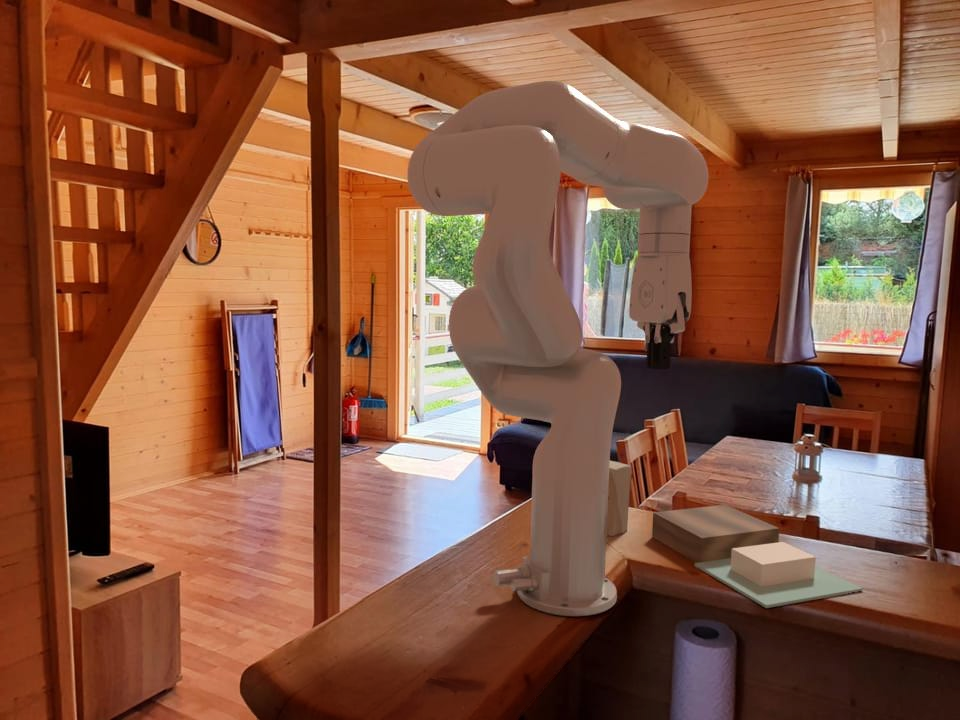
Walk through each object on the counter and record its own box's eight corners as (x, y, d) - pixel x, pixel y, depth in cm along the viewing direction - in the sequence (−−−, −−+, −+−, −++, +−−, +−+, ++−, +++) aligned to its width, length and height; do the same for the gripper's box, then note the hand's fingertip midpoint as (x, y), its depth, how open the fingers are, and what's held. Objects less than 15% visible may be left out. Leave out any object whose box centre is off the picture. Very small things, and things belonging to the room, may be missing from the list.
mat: (766, 608, 87) (766, 605, 87) (694, 566, 100) (694, 563, 100) (862, 591, 93) (862, 588, 93) (782, 553, 106) (783, 550, 106)
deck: (700, 565, 101) (701, 538, 100) (652, 537, 112) (653, 512, 112) (777, 554, 106) (779, 528, 105) (723, 528, 117) (725, 504, 116)
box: (587, 528, 115) (589, 462, 114) (603, 523, 118) (605, 458, 117) (613, 537, 111) (616, 468, 110) (629, 531, 114) (632, 464, 113)
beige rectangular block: (731, 548, 98) (730, 569, 98) (762, 564, 93) (761, 586, 93) (782, 541, 101) (781, 561, 101) (815, 556, 96) (814, 578, 96)
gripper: (615, 248, 112) (611, 364, 114) (672, 244, 98) (666, 375, 100) (655, 250, 114) (650, 363, 116) (716, 246, 100) (710, 374, 102)
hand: (658, 368), depth 108 cm, fingers closed
